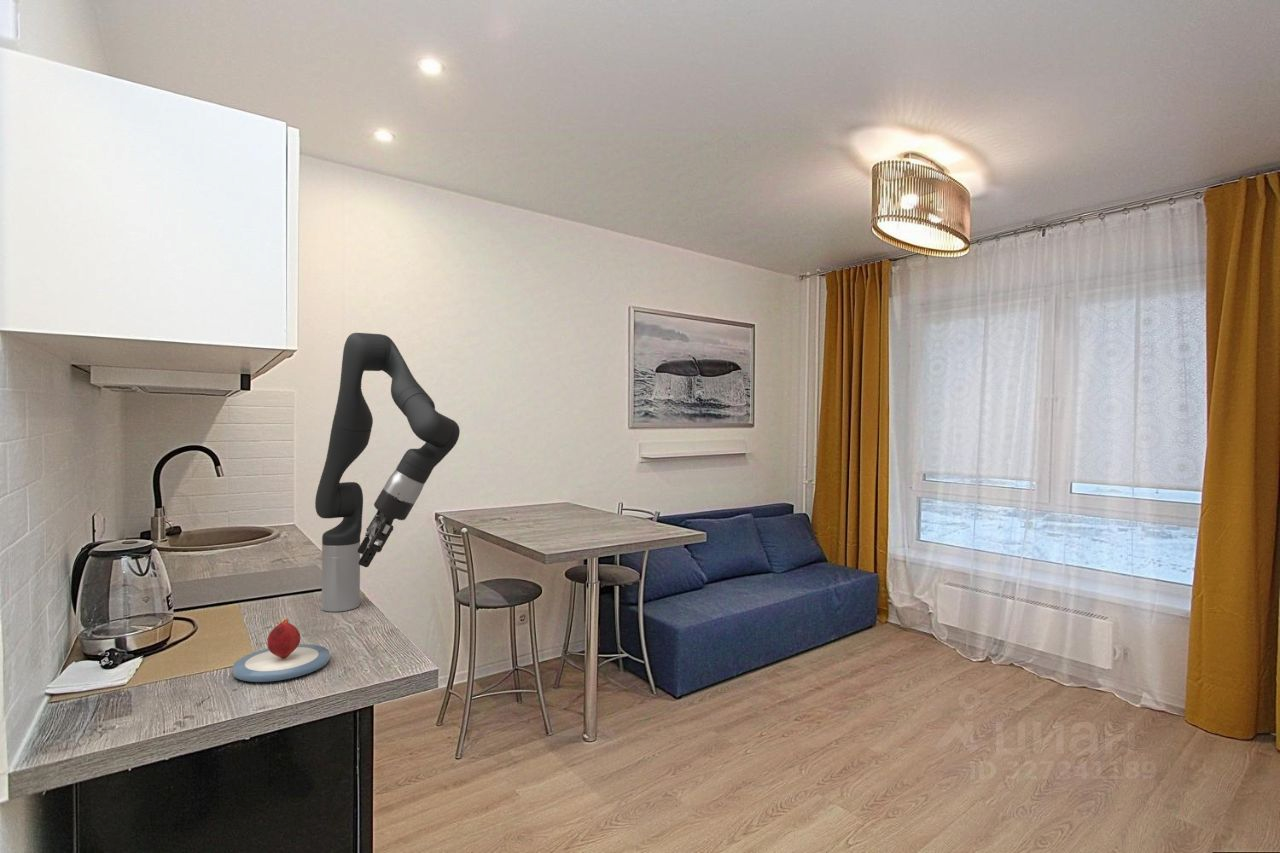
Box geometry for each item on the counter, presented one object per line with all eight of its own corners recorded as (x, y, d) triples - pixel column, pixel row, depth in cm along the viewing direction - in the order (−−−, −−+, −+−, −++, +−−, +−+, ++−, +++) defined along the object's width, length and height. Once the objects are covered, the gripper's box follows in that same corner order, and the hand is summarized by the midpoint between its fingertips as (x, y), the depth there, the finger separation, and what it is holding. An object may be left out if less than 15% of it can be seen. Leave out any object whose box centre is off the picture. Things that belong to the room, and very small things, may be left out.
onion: (285, 664, 127) (285, 624, 127) (260, 662, 128) (260, 622, 128) (306, 654, 133) (306, 615, 133) (282, 652, 134) (282, 613, 134)
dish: (237, 660, 134) (237, 651, 134) (328, 648, 142) (328, 639, 142) (227, 691, 119) (227, 681, 119) (330, 675, 127) (330, 666, 127)
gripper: (382, 480, 149) (345, 543, 147) (386, 494, 136) (345, 563, 134) (412, 494, 152) (376, 556, 150) (418, 509, 139) (379, 576, 137)
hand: (362, 559), depth 142 cm, fingers open, 8 cm apart
